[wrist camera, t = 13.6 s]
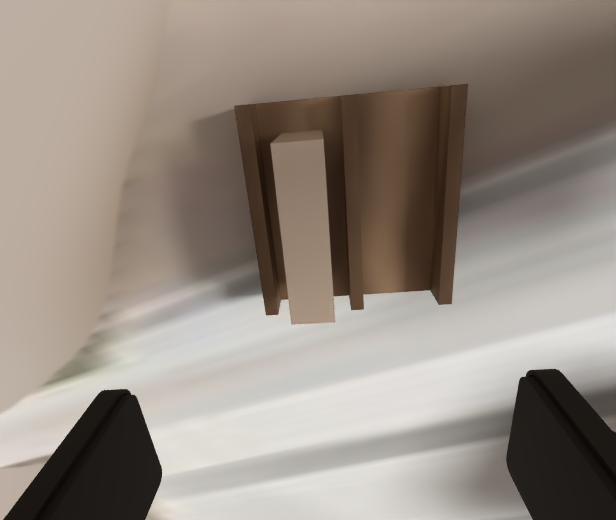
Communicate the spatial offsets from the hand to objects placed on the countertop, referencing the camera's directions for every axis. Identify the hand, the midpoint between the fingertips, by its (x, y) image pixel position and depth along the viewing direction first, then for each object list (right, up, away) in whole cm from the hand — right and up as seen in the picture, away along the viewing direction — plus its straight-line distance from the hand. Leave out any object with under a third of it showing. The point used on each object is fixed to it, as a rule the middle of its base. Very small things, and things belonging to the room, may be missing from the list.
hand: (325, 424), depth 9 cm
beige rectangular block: (0, +8, +20) cm, 22 cm away
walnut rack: (+3, +9, +22) cm, 24 cm away
